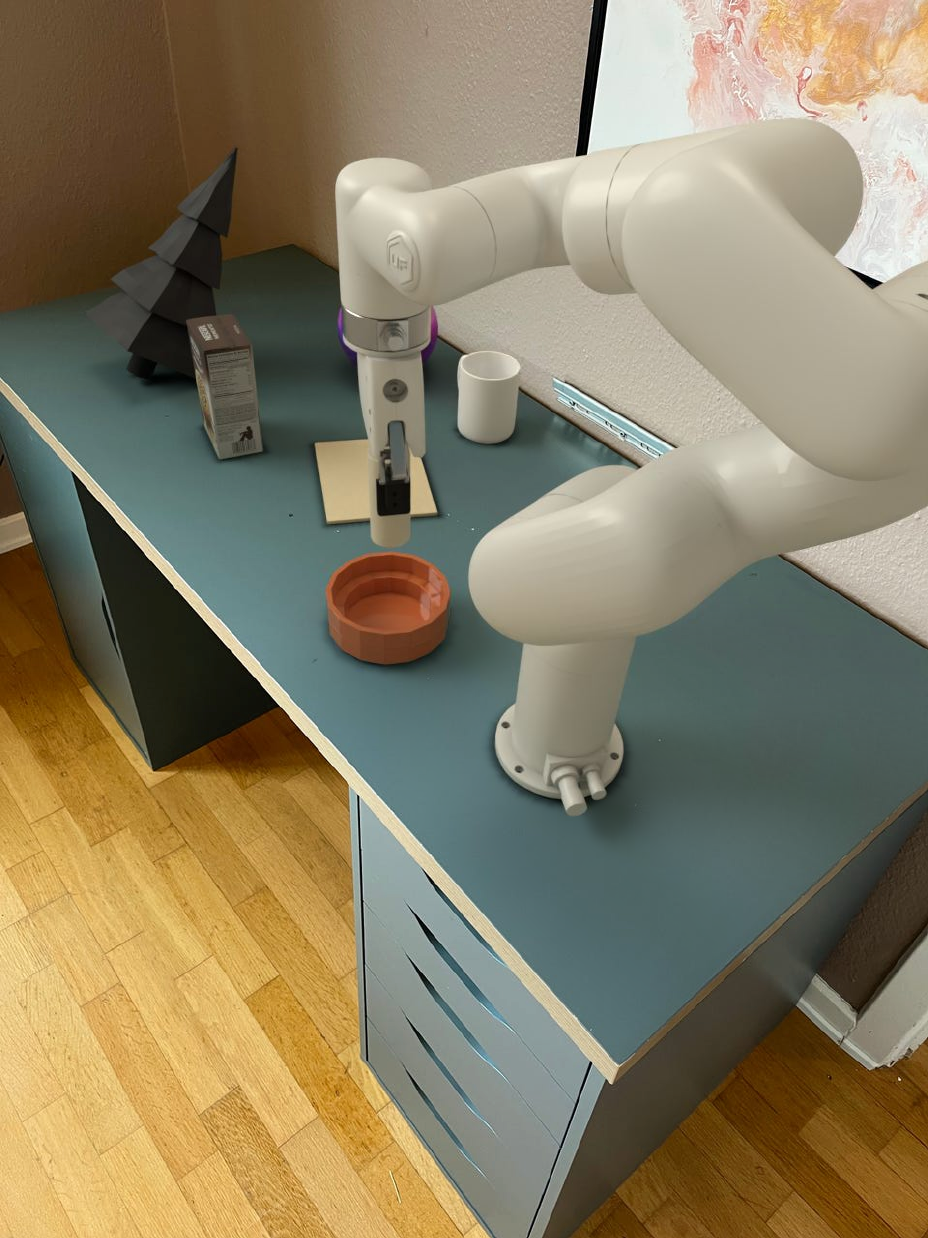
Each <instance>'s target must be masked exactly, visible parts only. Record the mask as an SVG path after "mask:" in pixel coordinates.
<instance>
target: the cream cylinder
mask: <svg viewBox="0 0 928 1238" xmlns="http://www.w3.org/2000/svg"><path fill="white" fill-rule="evenodd" d="M385 449H389V446H388V447H385ZM408 449H409V448H408ZM390 466H391V460H385V470H386V468H387V467H390ZM368 471H369V496H370V521H369V522H370V538H371V540H372V542H373V543H374V544H375V545H378V547H381V548H386V549H395V548H399V547H403V546H404V545H406V544H407V543H409V541H410V540H411V533H412V532H411V531H412V530H411V528H412V527H411V517H410V513H408V514H402V515H391V516H379V515H378V513H377V501H376V479H379V471H378V460H377V459H376V458H374V457H373V455H372V452H371V448H369V450H368ZM409 476H410V449H409Z"/></svg>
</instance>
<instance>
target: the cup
mask: <svg viewBox="0 0 928 1238" xmlns="http://www.w3.org/2000/svg"><path fill="white" fill-rule="evenodd" d="M521 368H522V367H521V364H520V362H519V361H518V360H517V359H516V358H515V357H513V356H511V355H510V354H507V353H504V352H500V351H495V350H481V351H475V352H471V353H469V354H464V355H462V356H461V357H460V359H459V361H458V366H457V375H456V377H457V389H458V400H457V401H458V403H457V429H458V431H459V433H460V434H461V435H462V436H463V437H464V438H465V439H467V440H469V441H471V442H474V443H478V444H485V445H486V444H487V445H490V444H491V445H493V444H498V443H501V442H504V441H506V440H507V439H509V438H510V437H511V436H512V435H513V433H514V430H515V426H516V417H517V407H518V397H519V389H520V388H519V387H520V378H521V377H520V376H521Z"/></svg>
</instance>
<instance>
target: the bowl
mask: <svg viewBox="0 0 928 1238" xmlns="http://www.w3.org/2000/svg"><path fill="white" fill-rule="evenodd" d="M325 600H326V613H327V616H326V617H327V623H328V624H327V625H328V633H329V636H330V637H331V638H332V639H333V641H334V642H335V643H336V645H337V646H338V647H339V649H340V650H342V651H343V652H344V653H346V654H347V655H351V656H352V657H354V658H356V659H358V660H360V661H361V662H362V661H363V662H369V663H374V664H380V665H394V664H401V663H411V662H413V661H415V660H418V659H419V658H421V657H424V656H426V655H429V654H431V653H432V652H433V651H434V649H436V648H437V647H438V646H439V645H440V644H441V643H442V642H443V641H444V639H446V638H445V637H446V634H447V632H448V628H449V624H450V611H451V610H450V609H451V590H450V586H449V583H448V579H447V577H446V575H444V574H443V572H441V570H439V568H438V567H436V565H435V564H434V563H432V562H429V561H427V560H426V559H424V558H421V557H419V556H417V555H415V554H411V553H403V552H397V551H384V552H383V551H382V552H372V553H371V552H370V553H366V554H363V555H361V556H358V557H355V558H353V559H350V560H348V561H346V562H345V563H344V564H342V566H340V567H339V568H338V569H336V571H334V572H333V573H332V574H331V577H330V579H329V581H328V583H327V585H326V588H325Z"/></svg>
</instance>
